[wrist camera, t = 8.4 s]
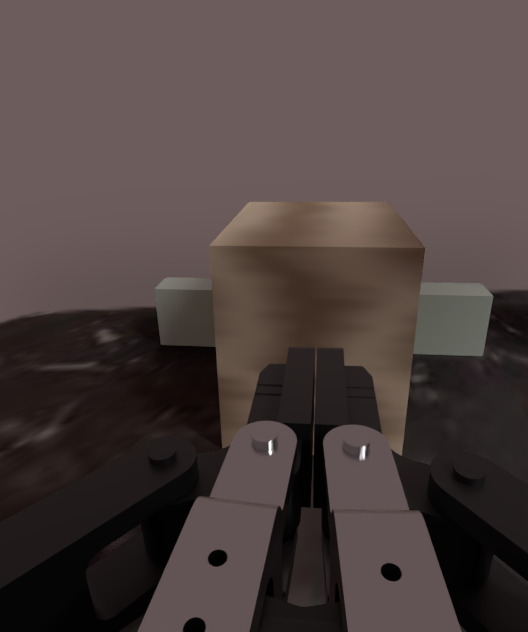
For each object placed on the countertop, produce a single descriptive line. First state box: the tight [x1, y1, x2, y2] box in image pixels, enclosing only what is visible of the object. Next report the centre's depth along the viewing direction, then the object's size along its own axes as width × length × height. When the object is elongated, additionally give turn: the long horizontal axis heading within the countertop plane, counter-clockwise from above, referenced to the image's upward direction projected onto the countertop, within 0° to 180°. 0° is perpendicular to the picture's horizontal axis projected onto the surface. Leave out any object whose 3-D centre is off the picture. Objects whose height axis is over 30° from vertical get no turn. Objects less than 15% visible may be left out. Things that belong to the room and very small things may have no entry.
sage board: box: [154, 278, 493, 356], centre depth 39 cm, size 26×3×5 cm, turn 83°
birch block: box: [209, 202, 425, 456], centre depth 30 cm, size 10×13×12 cm
